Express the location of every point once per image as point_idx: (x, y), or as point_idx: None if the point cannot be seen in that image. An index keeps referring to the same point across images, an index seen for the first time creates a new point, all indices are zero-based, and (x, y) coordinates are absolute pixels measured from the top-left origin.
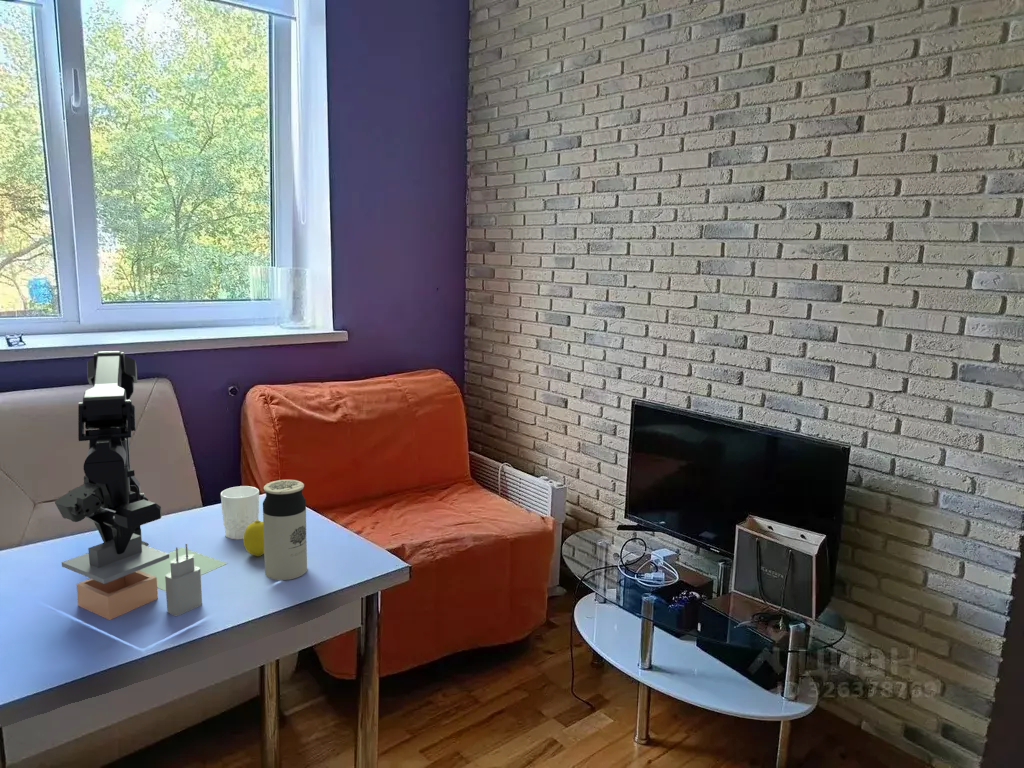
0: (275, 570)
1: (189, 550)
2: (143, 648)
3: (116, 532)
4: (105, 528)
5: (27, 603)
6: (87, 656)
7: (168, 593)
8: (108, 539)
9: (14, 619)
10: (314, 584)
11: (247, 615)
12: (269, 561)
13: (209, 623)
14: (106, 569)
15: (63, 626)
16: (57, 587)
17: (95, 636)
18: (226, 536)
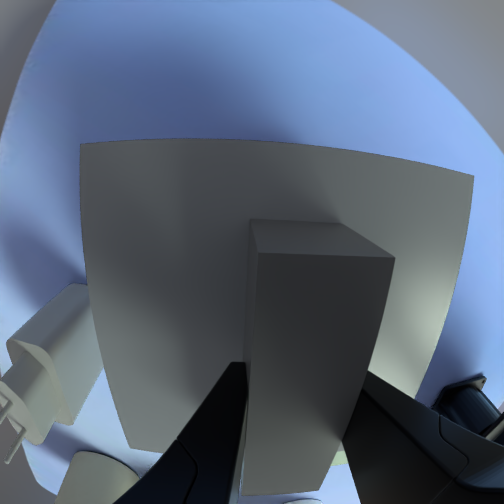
0: (80, 464)
1: (332, 464)
2: (16, 153)
3: (132, 496)
4: (408, 472)
5: (463, 148)
6: (84, 53)
7: (56, 313)
8: (360, 413)
9: (420, 76)
10: (45, 447)
11: (3, 348)
12: (87, 478)
13: (11, 298)
14: (187, 231)
15: (280, 92)
16: (469, 236)
17: (145, 106)
18: (310, 501)
